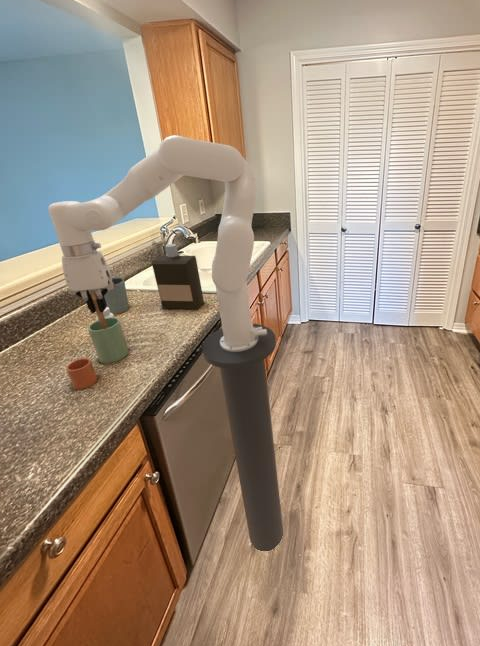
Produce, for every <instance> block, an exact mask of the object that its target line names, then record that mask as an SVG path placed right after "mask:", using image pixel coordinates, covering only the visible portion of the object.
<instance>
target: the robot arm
mask: <svg viewBox="0 0 480 646" xmlns="http://www.w3.org/2000/svg"><path fill="white" fill-rule="evenodd" d="M184 176H186V177H191V178H198V179H204V180H205V179H206V180H212V181H218V182H224V186H225V187H224V188H225V189H224V197H223V207H222V211H221V212H222V213H221V217H220V221H219V225H218V228H217V240H216V247H215V254H214V257H213V259H212V263H211V280H212V282H213V284H214V285H215V290H216V298H217V304H218V310H219V317H220V321H221V322H220V323H221V329H223V335H224V336H223V337H222V338H221V339H220V346H221V348H222V349H224V350H226V351H229V352H241V351H245V350H248V349H250V348H252V347H253V346H255V345H256V344H257V342H258V336H260V335H267V330H266V329H263V330H262V327H258V328H255V327H253V324H254V323H252V315H251V308H250V306H251V305H250V300H249V299H250V297H249V296H250V295H249V289H248V282H247V279H248V275H249V271H250V266H251V261H252V256H253V251H254V246H255V234H254V231H253V227H252V225H253V224H252V223H253V217H254V213H255V204H256V196H257V183H256V178H255V174H254V172H253V169H252V168H251V166H250V164H249V162H248V161H247V160H246V159H245V157H244V156H243V155H242V154H241V152H240V151H239V150H238V149H237V148H236V147H234V146H232V145H228V144H224V143H219V142H212V141H205V140H199V139H195V138H194V139H193V138H190V137H185V136H181V135H176V134H175V135H170V136H167V137H165V138H164V139H163V140H162V141H161V142H160V144H159V147H157V148H156V149H155V150H153V151H152V152H151V153H150V154H148V155H147V156H145V157H143V159H141V160H140V161H138V162H137V163H136V164H134V165H132V166H131V168H130V169H129V170H128V171H127V174H126V176H125V177H124V178H123V179H122V180H121V181H120V182H119V183H117V184H116V185H115V186H113V187H112V188H111V189H109V190H108V191H106V192H105V193H104V194H102V195H101V196H99V197H97V198H93V199H91V200H89V201H83V202H80V201H78V200H65V201H58V202H57V201H56V202H53V203H51V204H49V205H48V207H47V211H48V214H49V217H50V219H51V223H52V226H53V228H54V231H55V234H56V237H57V240H58V243H59V246H60V249H61V252H62V256H61V263H62V265H61V266H62V271H63V276H64V280H65V283H66V286H67V294H68V295H73V296H76V297H79V298H81V299H82V300H83V301H84V302H85V303H86V306H87V309H88V310H89V311H90V314H96V310H95V307H94V304H93V301H92V298H91V295H90V293H91V291H92V290H93V291H94V290H95V292H96V294H97V298H98V299H97V300H96V301H97V304H98V307H99V311H100V312H103V311H104V310H105V309H106V307H107V304H106V301H105V297H104V295H105V294H106V293H107V292H108V291H111V290H113V289H114V288H115V287H116V286H115V284H114V283H113V282H112V278H113V277H112V273H111V270H110V268H109V266H108V263H107V261H106V259H105V257H104V255H103V253H102V252H101V250H98V249H101V248H102V245H101V244H102V243H100V242H96V241H95V240H94V237H93V234H92V231H97V232H98V231H99V232H100V231H106V230H108V229H110V228H111V227H112V226H114V225H115V224H117V223H118V222H120V221H121V220H122V219H124V218H125V217H126V216H128V215H129V214H131V213H132V212H133V211H135V210H136V209H137V208H139V207H141V205H143V204H145V202H147V201H150V200H153V199H154V198H155V197H157V196H158V195H160V194H161V193H162V192H163V191H165V190H166V189H168V188H169V187H170V186H172V185H173V184H175V183H176V182H178V180H179V179H181V178H182V177H184Z"/></svg>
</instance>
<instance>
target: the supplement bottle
mask: <svg viewBox="0 0 480 646" xmlns="http://www.w3.org/2000/svg"><path fill="white" fill-rule="evenodd" d="M95 314H96V313H95ZM103 314H104V317H105V318H110V317H115V314H113V313H110V309H109V307H106V309H105V310H104V311H103ZM95 321H98V317H97V314H96V317H95Z"/></svg>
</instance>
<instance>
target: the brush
mask: <svg viewBox="0 0 480 646" xmlns="http://www.w3.org/2000/svg"><path fill="white" fill-rule="evenodd" d="M90 295H91V298H92V301H93V304H94V307H95V310H96V311H95V314H97V315H96V317H98V320H99V323H100V326H101V330H103V329H107V328H109V327H107V324H106V321H105V317H104V314H103V312H100V311H99V307H98V304H97V301H96V300H97V299H98V298H97V294H96V291H93V292H90Z"/></svg>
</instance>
